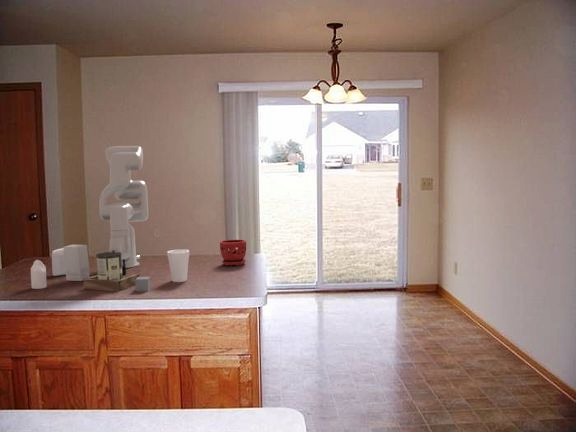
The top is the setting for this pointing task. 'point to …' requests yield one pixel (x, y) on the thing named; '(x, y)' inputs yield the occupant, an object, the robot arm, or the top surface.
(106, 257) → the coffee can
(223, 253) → the plant pot
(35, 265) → the white tall rounded piece
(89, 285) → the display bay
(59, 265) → the photo printer
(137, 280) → the grey block
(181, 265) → the foam cup
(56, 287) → the top surface
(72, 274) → the skincare box
